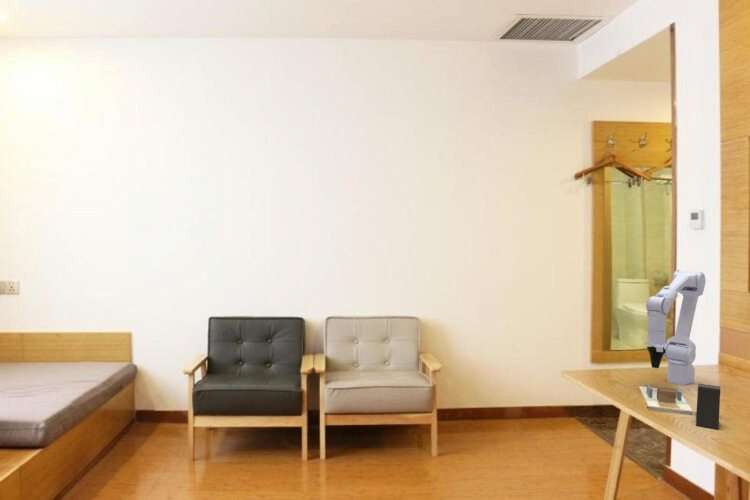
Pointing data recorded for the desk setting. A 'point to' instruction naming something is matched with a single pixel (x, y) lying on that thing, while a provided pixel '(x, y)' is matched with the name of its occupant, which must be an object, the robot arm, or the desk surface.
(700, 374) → the desk surface
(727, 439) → the desk surface
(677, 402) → the pad
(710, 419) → the black open bin
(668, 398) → the block
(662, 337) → the robot arm
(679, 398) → the board
